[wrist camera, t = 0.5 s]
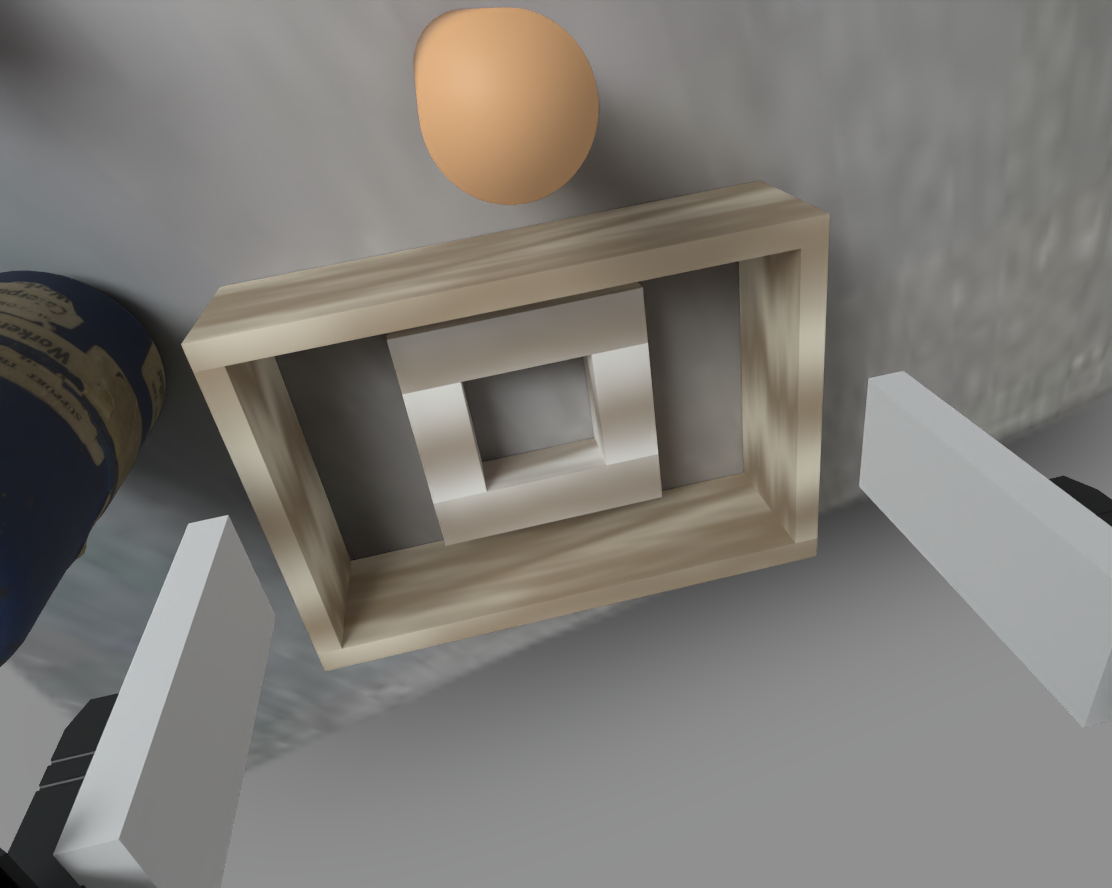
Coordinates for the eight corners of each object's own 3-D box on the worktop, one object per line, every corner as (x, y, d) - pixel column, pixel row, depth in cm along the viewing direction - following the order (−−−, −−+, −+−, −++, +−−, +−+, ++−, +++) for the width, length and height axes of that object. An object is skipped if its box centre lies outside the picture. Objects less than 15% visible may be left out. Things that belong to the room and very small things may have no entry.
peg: (402, 19, 31) (397, 25, 17) (507, 0, 31) (586, -9, 17) (427, 133, 33) (441, 219, 19) (525, 114, 33) (607, 187, 20)
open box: (220, 286, 35) (181, 344, 29) (760, 180, 36) (829, 213, 31) (336, 581, 44) (325, 671, 38) (762, 484, 46) (816, 555, 40)
